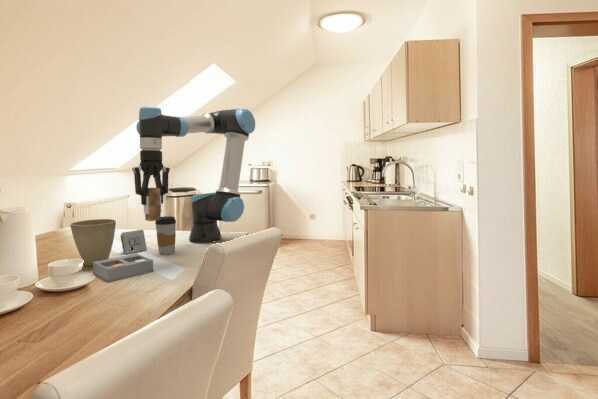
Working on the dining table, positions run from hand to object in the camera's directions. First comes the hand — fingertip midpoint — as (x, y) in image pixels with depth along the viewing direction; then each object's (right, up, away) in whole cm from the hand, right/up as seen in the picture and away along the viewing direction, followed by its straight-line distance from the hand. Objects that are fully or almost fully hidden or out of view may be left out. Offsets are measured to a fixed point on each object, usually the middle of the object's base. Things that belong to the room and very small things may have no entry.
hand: (152, 212), depth 133 cm
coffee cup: (-1, -18, +18) cm, 25 cm away
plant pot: (-22, -19, +2) cm, 30 cm away
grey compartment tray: (-7, -20, -9) cm, 23 cm away
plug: (0, -3, 0) cm, 3 cm away
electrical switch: (-16, -18, +19) cm, 31 cm away
